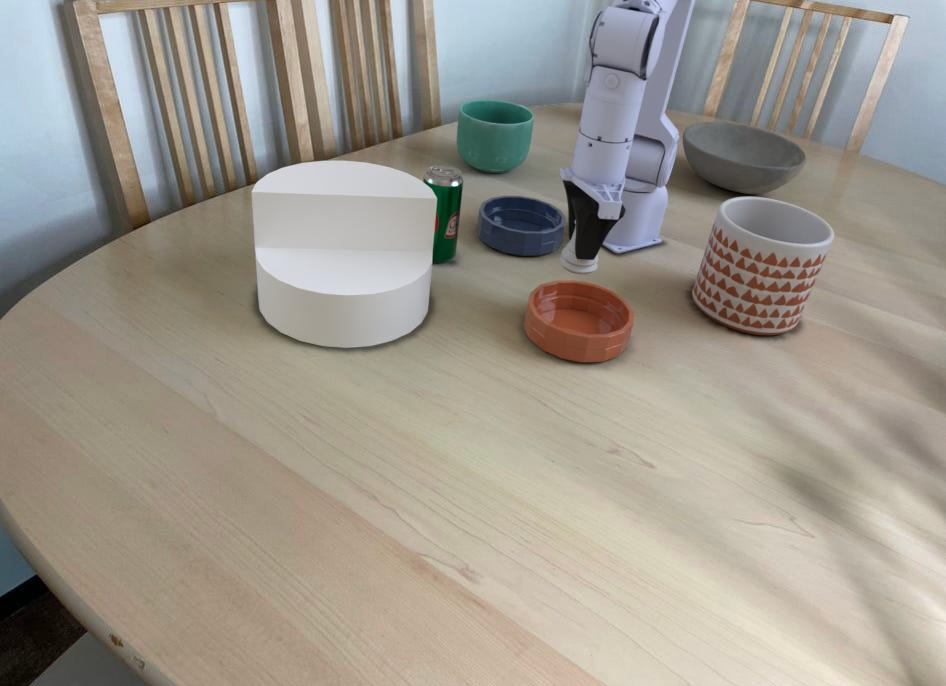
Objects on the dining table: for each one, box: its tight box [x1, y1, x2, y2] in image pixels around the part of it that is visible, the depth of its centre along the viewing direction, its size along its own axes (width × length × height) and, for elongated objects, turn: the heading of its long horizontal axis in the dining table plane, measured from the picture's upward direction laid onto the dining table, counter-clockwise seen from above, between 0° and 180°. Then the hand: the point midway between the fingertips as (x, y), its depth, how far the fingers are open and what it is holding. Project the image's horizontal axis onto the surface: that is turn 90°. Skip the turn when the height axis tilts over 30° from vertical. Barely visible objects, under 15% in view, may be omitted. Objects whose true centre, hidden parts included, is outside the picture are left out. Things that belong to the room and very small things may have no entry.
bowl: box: [682, 121, 807, 195], centre depth 132 cm, size 21×21×8 cm
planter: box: [691, 196, 835, 336], centre depth 94 cm, size 14×14×13 cm
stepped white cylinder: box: [250, 160, 437, 349], centre depth 85 cm, size 20×20×13 cm
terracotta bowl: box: [523, 279, 635, 363], centre depth 87 cm, size 12×12×4 cm
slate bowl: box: [476, 195, 567, 257], centre depth 106 cm, size 12×12×4 cm
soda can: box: [422, 164, 464, 264], centre depth 97 cm, size 5×5×12 cm
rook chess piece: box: [559, 220, 599, 275], centre depth 84 cm, size 4×4×8 cm
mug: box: [456, 99, 535, 174], centre depth 128 cm, size 17×13×10 cm
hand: (581, 249), depth 85 cm, fingers closed on rook chess piece, 3 cm apart
